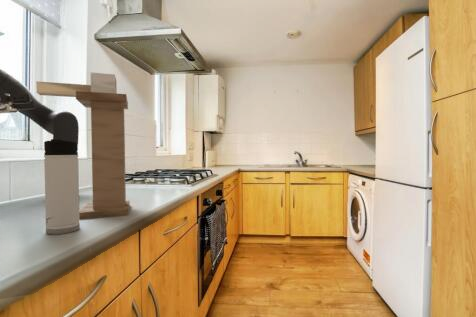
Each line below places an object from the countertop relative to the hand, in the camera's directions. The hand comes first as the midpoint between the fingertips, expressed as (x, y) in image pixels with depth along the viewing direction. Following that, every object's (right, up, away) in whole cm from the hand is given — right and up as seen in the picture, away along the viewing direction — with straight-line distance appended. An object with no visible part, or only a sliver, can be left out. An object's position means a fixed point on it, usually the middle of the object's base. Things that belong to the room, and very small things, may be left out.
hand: (32, 101), depth 75 cm
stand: (+18, -31, +5) cm, 36 cm away
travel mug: (+18, -32, -14) cm, 39 cm away
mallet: (+12, +2, +2) cm, 12 cm away
